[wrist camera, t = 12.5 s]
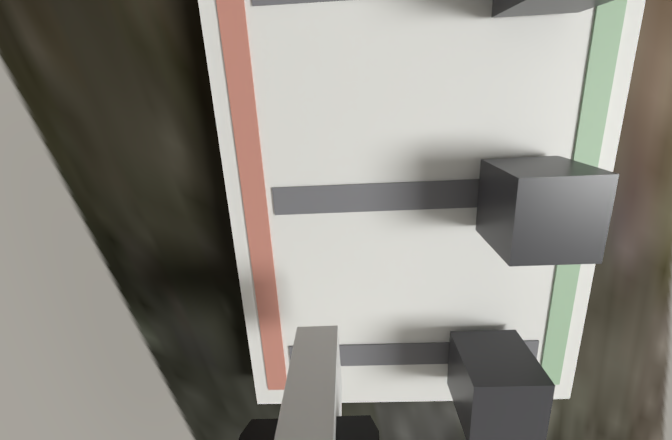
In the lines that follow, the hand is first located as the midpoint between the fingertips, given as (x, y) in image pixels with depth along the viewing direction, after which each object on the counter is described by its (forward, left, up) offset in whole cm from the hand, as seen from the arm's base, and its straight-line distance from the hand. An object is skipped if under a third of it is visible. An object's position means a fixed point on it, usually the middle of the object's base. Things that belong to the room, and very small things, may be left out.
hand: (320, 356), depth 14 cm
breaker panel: (-5, +4, -6) cm, 9 cm away
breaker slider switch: (+3, +7, -3) cm, 9 cm away
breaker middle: (-5, +8, -3) cm, 10 cm away
